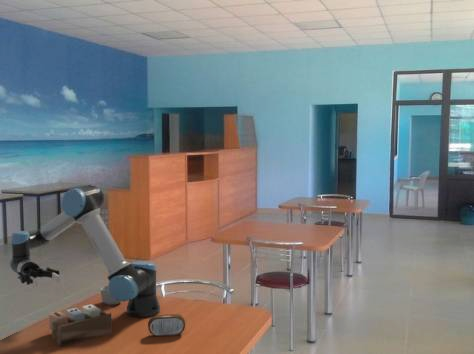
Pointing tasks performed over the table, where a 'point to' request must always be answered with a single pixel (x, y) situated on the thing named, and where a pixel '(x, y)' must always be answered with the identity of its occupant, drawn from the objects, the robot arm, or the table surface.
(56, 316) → the tan rectangular block
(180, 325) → the tin
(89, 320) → the wooden compartment box
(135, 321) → the table surface
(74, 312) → the pale blue knobbed block
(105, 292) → the teacup
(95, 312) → the cream dotted block
